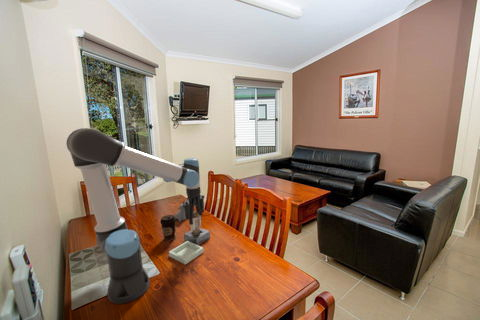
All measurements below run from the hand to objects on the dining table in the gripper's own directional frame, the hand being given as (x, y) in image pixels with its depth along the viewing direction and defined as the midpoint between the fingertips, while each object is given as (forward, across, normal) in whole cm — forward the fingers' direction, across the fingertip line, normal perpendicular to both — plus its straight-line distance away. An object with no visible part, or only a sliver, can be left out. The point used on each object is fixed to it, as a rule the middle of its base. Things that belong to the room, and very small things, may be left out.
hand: (196, 227), depth 127 cm
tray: (+7, -13, -6) cm, 16 cm away
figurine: (+7, +14, +29) cm, 33 cm away
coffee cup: (+8, -8, +14) cm, 18 cm away
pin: (+5, 0, 0) cm, 5 cm away
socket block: (+7, 0, 0) cm, 7 cm away
